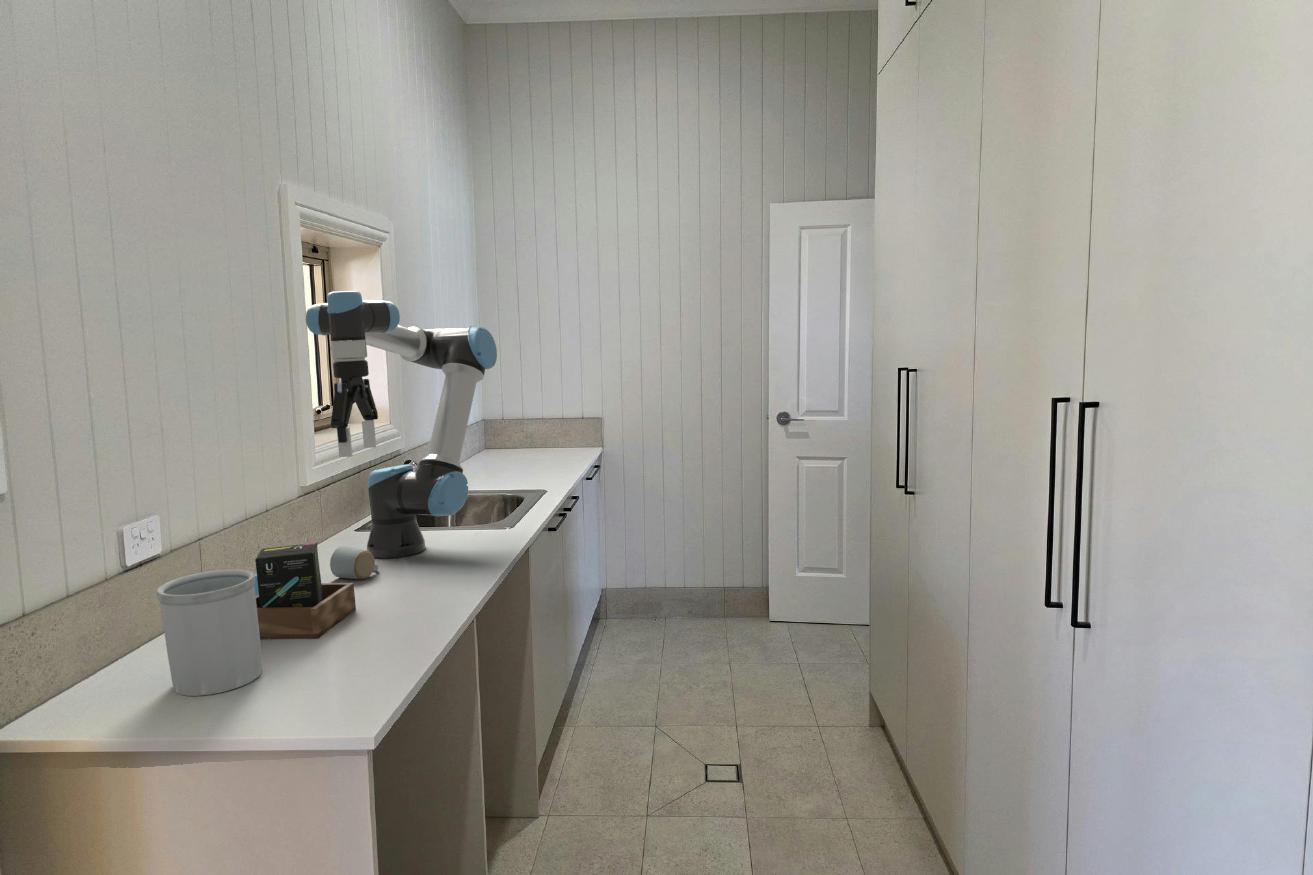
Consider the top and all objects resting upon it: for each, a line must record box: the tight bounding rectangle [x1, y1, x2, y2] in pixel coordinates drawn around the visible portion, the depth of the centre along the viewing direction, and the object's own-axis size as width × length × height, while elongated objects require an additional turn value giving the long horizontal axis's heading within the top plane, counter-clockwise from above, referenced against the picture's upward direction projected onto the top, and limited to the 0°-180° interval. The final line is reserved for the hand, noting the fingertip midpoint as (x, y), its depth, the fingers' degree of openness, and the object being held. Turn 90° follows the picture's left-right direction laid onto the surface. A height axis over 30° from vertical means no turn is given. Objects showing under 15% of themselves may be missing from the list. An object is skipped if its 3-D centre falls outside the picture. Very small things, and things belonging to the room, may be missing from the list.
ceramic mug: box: [329, 545, 379, 580], centre depth 208 cm, size 11×8×8 cm
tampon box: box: [254, 542, 323, 608], centre depth 173 cm, size 11×9×15 cm
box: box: [255, 582, 357, 640], centre depth 174 cm, size 17×17×6 cm
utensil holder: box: [156, 568, 263, 697], centre depth 145 cm, size 15×15×18 cm
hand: (358, 452), depth 197 cm, fingers open, 13 cm apart
